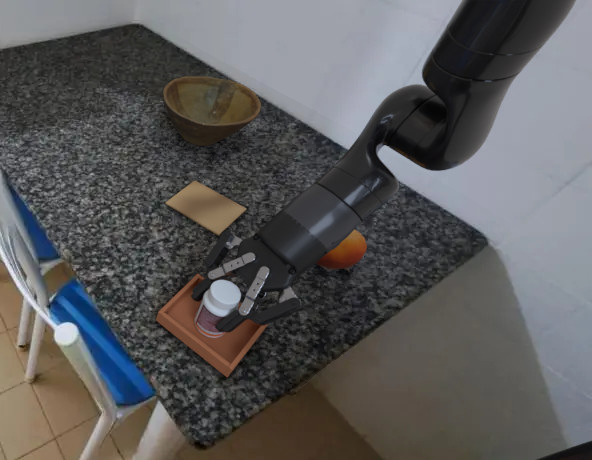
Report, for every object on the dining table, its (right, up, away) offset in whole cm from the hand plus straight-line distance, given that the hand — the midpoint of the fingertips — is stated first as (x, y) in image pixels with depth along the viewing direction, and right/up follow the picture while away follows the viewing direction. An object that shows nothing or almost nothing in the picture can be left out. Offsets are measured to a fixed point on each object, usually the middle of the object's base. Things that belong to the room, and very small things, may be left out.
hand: (206, 313), depth 54 cm
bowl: (+11, +34, +40) cm, 54 cm away
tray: (+2, -3, +4) cm, 5 cm away
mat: (+7, +16, +22) cm, 28 cm away
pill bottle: (+2, -2, +4) cm, 5 cm away
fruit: (+25, +7, +13) cm, 29 cm away
